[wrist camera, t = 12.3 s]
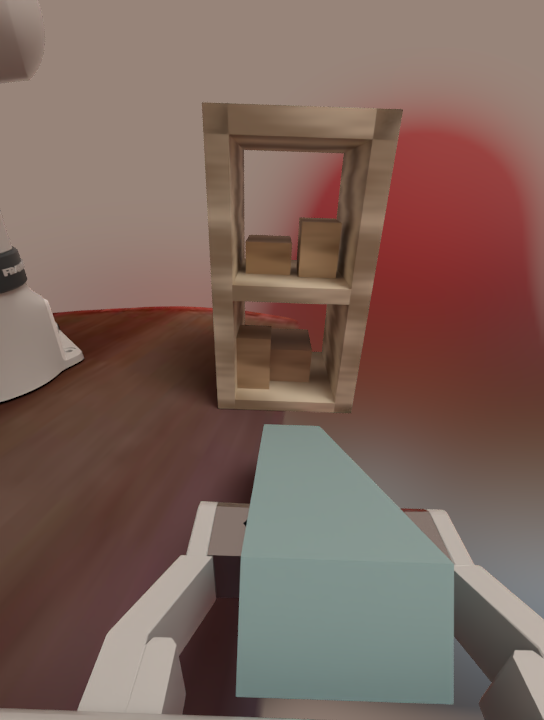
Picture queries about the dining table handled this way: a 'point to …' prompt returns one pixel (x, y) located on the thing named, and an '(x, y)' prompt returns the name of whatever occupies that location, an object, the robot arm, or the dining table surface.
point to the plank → (338, 584)
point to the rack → (314, 257)
